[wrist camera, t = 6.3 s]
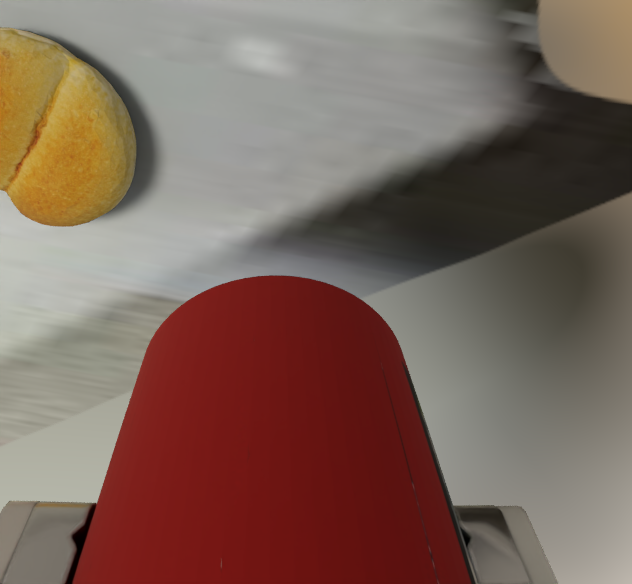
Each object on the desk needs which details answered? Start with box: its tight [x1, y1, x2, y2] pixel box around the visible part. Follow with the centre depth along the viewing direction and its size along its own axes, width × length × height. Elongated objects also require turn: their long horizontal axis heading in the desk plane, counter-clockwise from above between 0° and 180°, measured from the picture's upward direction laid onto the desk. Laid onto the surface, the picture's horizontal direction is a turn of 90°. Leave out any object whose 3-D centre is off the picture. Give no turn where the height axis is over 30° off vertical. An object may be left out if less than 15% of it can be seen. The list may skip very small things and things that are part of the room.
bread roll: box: [0, 28, 136, 226], centre depth 25 cm, size 8×9×4 cm
